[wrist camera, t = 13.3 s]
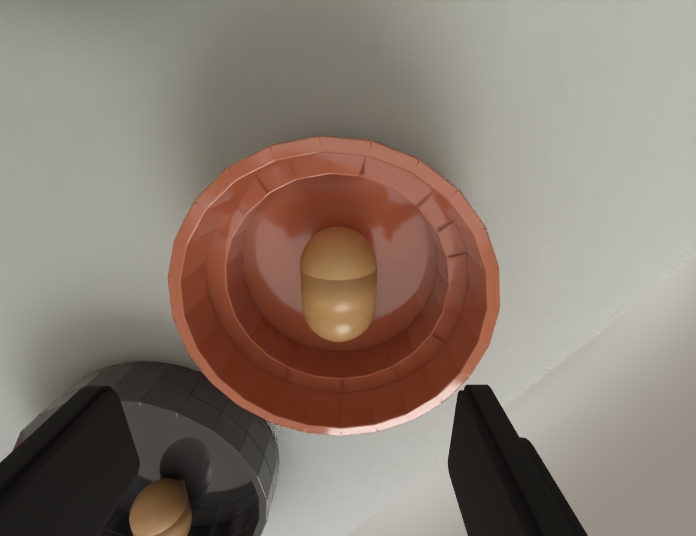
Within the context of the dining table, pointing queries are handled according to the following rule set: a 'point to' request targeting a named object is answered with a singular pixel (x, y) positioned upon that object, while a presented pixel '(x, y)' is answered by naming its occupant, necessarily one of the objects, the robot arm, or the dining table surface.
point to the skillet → (189, 446)
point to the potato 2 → (338, 283)
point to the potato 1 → (161, 509)
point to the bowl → (285, 286)
